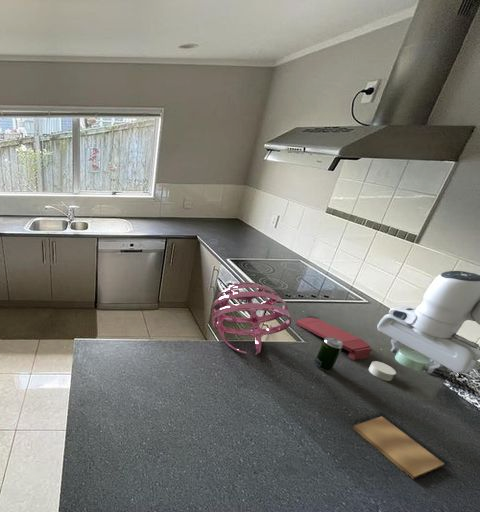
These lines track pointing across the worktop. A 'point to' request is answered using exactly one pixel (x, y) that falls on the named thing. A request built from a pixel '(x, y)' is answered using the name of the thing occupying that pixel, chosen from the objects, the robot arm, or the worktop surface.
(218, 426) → the worktop surface
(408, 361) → the mint green round lid
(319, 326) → the red long block
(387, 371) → the white round disc
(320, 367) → the beer can
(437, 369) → the grey chess piece
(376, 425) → the oak board
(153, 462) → the worktop surface
